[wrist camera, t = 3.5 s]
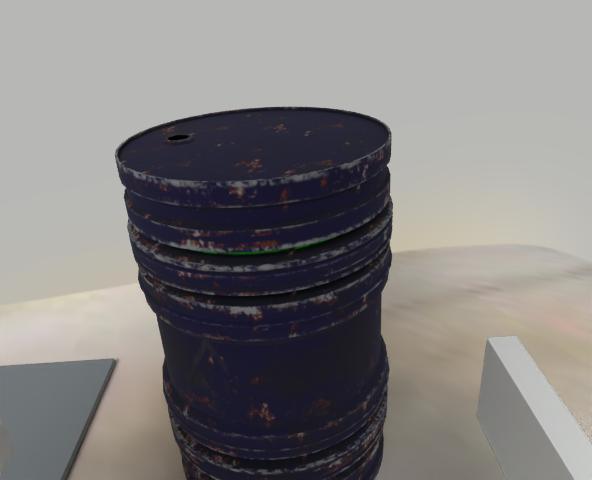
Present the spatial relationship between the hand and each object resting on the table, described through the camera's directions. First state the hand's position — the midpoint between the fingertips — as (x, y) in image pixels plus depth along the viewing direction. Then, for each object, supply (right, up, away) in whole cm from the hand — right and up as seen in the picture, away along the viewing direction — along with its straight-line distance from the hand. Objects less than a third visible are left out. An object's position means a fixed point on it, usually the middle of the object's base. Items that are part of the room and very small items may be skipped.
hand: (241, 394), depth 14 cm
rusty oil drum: (+1, -6, +11) cm, 13 cm away
